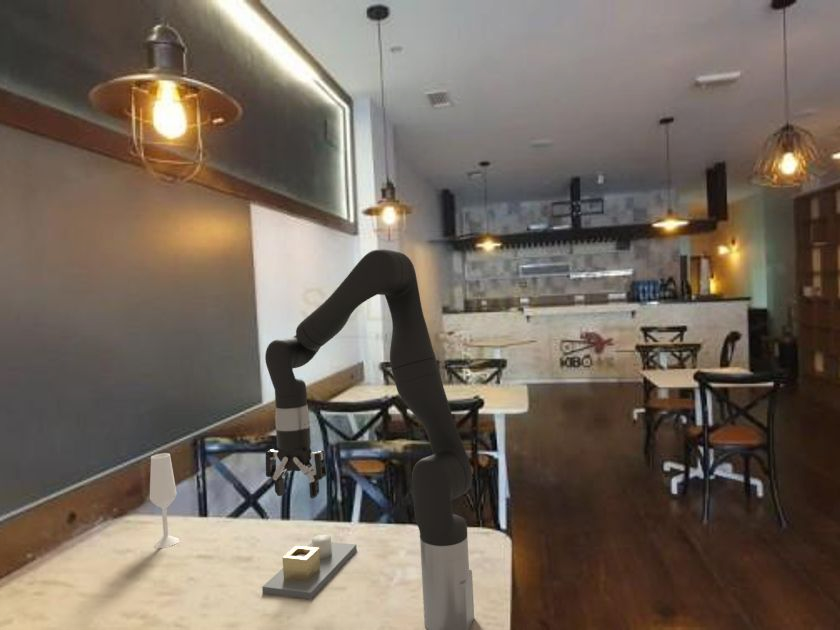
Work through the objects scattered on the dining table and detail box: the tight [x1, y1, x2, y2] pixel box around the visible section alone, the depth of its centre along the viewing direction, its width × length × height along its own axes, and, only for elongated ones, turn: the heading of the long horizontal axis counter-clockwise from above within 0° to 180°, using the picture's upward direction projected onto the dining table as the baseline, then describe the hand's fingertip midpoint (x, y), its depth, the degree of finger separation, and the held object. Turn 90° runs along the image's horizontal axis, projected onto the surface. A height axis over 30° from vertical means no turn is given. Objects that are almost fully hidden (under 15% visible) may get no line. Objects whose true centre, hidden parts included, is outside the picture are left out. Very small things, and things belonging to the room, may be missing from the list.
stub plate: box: [261, 534, 358, 600], centre depth 136 cm, size 12×24×6 cm, turn 162°
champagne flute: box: [149, 452, 180, 549], centre depth 156 cm, size 7×7×24 cm
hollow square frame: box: [282, 545, 320, 582], centre depth 132 cm, size 6×6×5 cm
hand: (297, 496), depth 131 cm, fingers open, 8 cm apart
